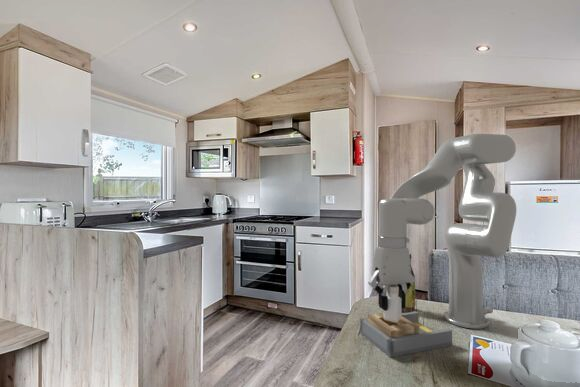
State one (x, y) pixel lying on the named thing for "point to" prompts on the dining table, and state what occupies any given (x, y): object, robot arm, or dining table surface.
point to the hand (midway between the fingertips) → (392, 307)
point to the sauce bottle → (410, 296)
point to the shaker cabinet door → (393, 326)
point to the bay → (406, 338)
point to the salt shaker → (393, 304)
